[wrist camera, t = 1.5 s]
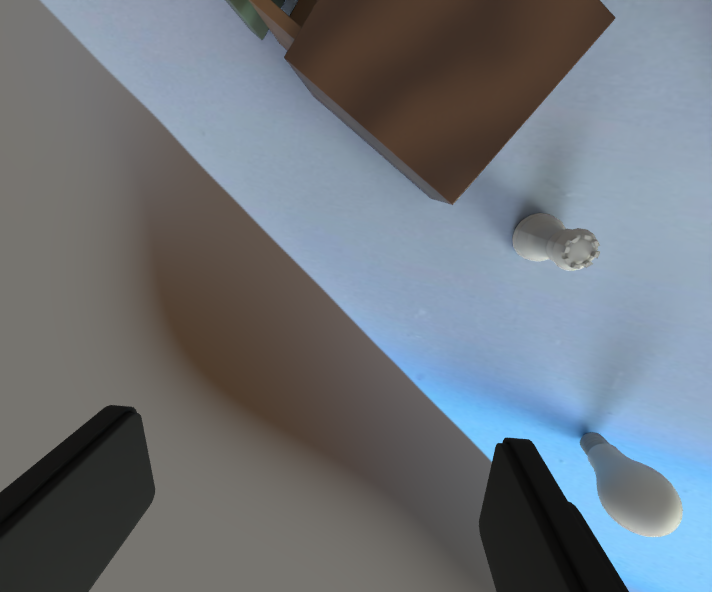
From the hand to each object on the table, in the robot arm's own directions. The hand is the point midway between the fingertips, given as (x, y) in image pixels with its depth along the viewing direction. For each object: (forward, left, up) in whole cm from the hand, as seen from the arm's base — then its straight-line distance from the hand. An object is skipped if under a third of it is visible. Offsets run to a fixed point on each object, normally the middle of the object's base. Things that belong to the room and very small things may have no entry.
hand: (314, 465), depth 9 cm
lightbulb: (0, +34, -27) cm, 43 cm away
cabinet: (-15, -5, -27) cm, 31 cm away
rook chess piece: (-12, +12, -27) cm, 32 cm away
